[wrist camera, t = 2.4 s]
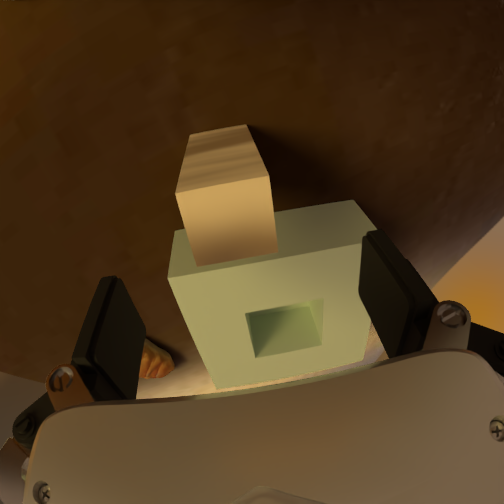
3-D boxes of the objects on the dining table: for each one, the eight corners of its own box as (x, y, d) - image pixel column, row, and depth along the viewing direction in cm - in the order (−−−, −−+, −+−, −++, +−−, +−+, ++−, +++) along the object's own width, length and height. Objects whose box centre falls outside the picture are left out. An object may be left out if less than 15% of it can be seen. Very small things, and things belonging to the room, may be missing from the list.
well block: (175, 230, 25) (167, 278, 21) (353, 199, 26) (384, 238, 21) (214, 343, 34) (216, 389, 29) (345, 318, 34) (362, 360, 30)
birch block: (190, 135, 21) (175, 193, 13) (246, 124, 21) (269, 175, 13) (201, 184, 23) (196, 266, 15) (253, 174, 23) (278, 252, 15)
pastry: (182, 344, 34) (181, 372, 31) (165, 372, 37) (163, 397, 34) (103, 319, 31) (95, 347, 28) (95, 351, 34) (89, 377, 31)
